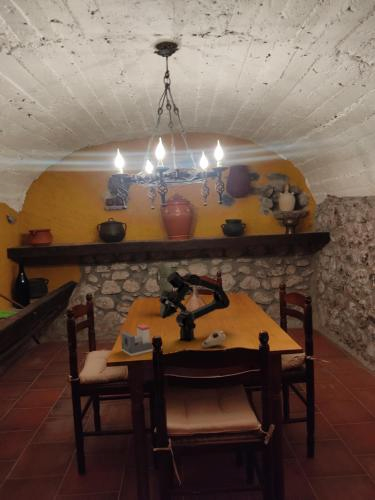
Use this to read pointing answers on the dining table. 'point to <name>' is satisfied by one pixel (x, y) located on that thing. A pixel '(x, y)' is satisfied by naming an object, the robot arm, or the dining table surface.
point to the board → (137, 352)
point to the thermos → (164, 281)
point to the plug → (142, 334)
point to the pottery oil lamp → (214, 339)
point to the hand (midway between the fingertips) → (162, 318)
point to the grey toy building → (133, 344)
